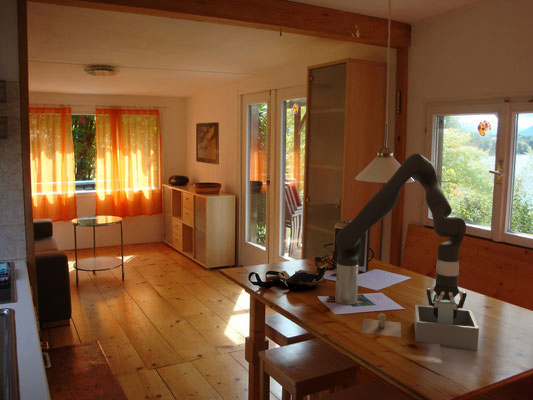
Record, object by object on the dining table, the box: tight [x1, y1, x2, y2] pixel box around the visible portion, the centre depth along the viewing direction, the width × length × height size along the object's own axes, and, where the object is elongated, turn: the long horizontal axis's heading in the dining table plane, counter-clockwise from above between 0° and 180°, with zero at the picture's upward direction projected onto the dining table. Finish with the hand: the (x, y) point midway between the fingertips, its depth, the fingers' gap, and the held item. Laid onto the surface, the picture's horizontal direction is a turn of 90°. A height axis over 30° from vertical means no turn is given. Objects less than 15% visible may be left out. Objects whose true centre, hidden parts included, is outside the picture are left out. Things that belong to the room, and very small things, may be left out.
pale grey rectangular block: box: [437, 300, 453, 325], centre depth 169 cm, size 5×5×11 cm
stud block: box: [361, 313, 402, 338], centre depth 175 cm, size 14×14×6 cm
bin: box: [413, 304, 480, 352], centre depth 169 cm, size 20×18×8 cm
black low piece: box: [277, 263, 329, 287], centre depth 231 cm, size 22×30×8 cm
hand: (444, 317), depth 169 cm, fingers closed on pale grey rectangular block, 5 cm apart
